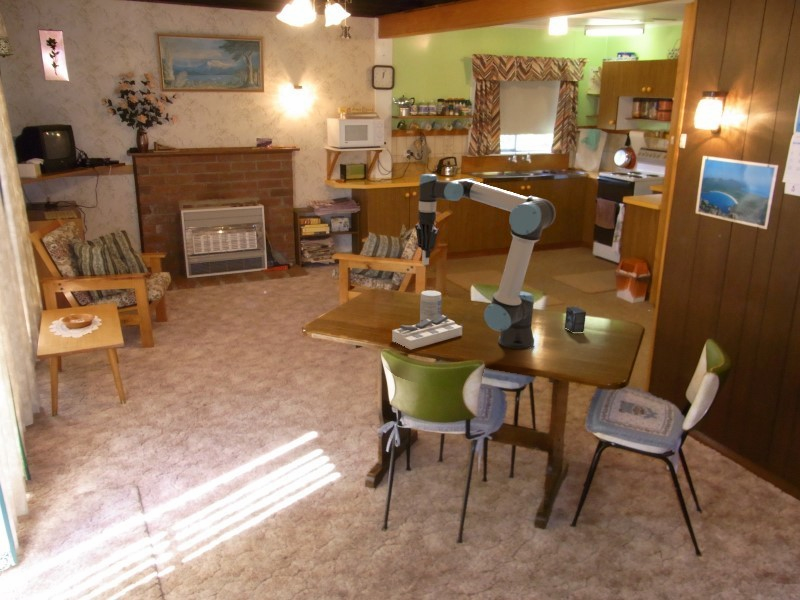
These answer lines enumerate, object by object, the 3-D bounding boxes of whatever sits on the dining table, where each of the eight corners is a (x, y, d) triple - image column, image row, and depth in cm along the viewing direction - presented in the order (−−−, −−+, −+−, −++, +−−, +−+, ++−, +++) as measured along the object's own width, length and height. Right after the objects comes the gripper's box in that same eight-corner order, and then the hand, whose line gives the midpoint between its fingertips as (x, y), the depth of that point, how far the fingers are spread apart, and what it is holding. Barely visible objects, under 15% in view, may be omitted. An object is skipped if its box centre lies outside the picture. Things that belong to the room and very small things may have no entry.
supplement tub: (442, 326, 316) (443, 296, 312) (421, 327, 315) (422, 296, 310) (438, 319, 325) (439, 289, 321) (418, 320, 324) (419, 290, 319)
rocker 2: (432, 323, 302) (432, 320, 301) (421, 329, 298) (420, 326, 298) (428, 321, 304) (427, 318, 304) (416, 327, 301) (415, 324, 300)
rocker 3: (447, 319, 308) (447, 316, 307) (436, 325, 304) (436, 322, 303) (442, 317, 310) (442, 314, 309) (431, 323, 306) (431, 320, 306)
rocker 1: (416, 330, 297) (417, 327, 297) (404, 330, 292) (405, 326, 292) (411, 328, 299) (412, 325, 299) (399, 328, 294) (400, 324, 294)
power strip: (471, 332, 310) (472, 321, 308) (410, 349, 287) (410, 338, 286) (452, 325, 318) (453, 314, 317) (392, 341, 296) (392, 330, 295)
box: (564, 328, 318) (566, 306, 315) (574, 327, 320) (577, 306, 316) (572, 334, 311) (575, 312, 308) (584, 333, 312) (586, 311, 309)
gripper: (444, 212, 293) (442, 266, 300) (423, 207, 302) (421, 260, 309) (431, 214, 288) (429, 268, 295) (410, 209, 297) (409, 262, 304)
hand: (425, 264), depth 302 cm, fingers closed
